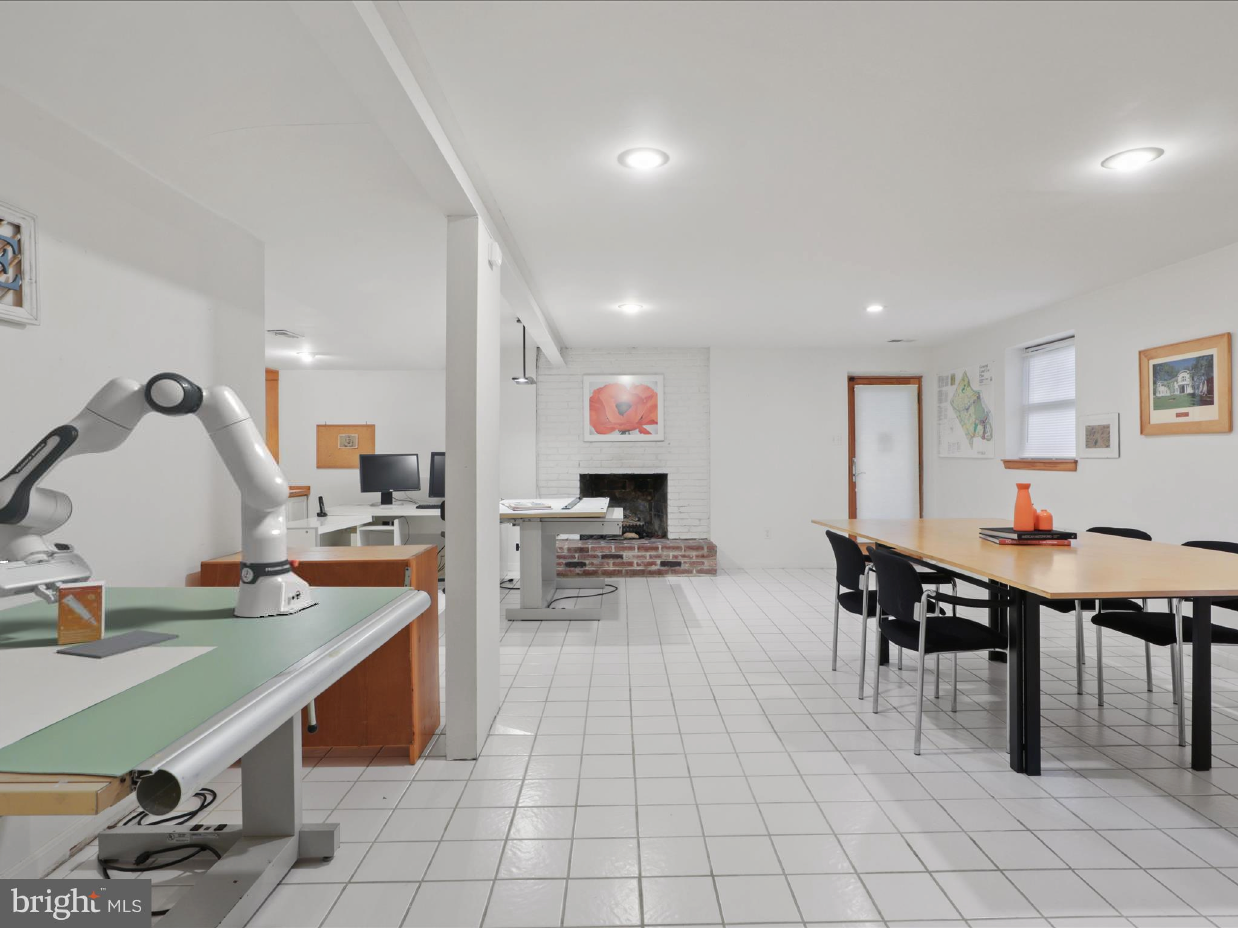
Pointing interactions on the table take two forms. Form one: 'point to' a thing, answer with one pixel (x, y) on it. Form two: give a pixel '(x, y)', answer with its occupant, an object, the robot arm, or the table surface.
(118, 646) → the mat
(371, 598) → the table surface
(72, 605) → the small box
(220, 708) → the table surface
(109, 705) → the table surface
